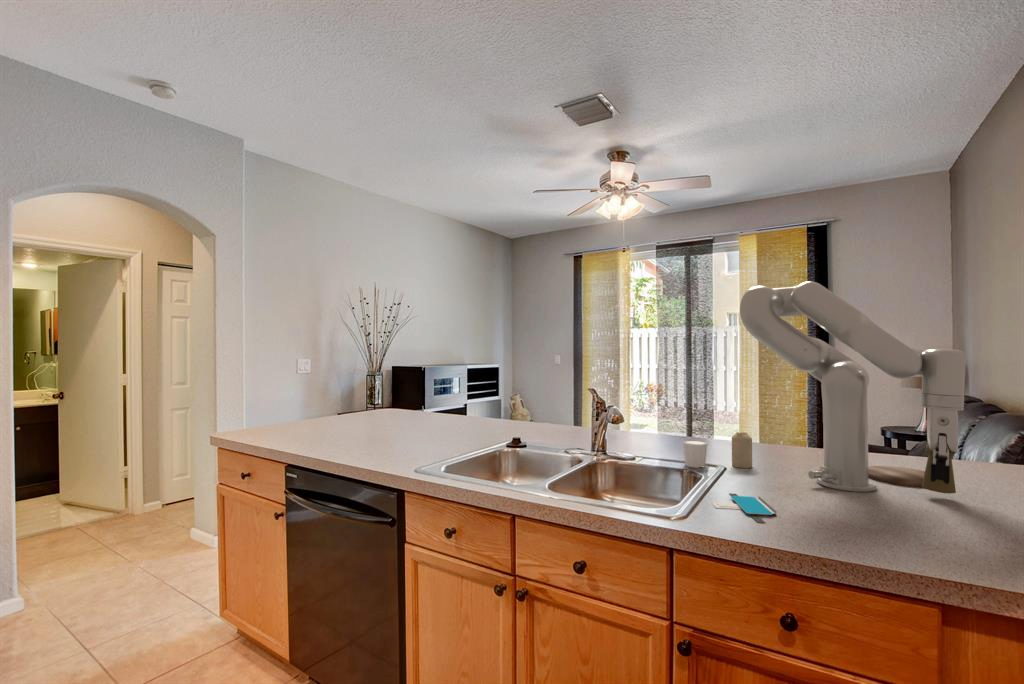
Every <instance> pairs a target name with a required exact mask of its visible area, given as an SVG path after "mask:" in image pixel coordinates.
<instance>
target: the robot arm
mask: <svg viewBox="0 0 1024 684" xmlns="http://www.w3.org/2000/svg"><path fill="white" fill-rule="evenodd" d="M739 315H740V319H741V322H742V324H743V326H744V328H745V329H746V331H747V332H748V333H749V334H750V335H751V336H752V337H753V338H754V339H756V340H757V341H758V342H759V343H761V344H762V345H764V346H765V347H766V348H768V349H769V350H770V351H771V352H773V353H774V354H776V355H777V356H779V357H780V358H781V359H783V360H784V361H785V362H787V363H788V364H789V365H790V366H792V367H793V368H794V369H796V370H798V371H800V372H805V373H808V374H809V375H811V376H812V377H813V378H815V379H816V380H818V381H819V382H820V383H821V384H820V388H821V400H822V401H821V402H822V423H823V425H822V427H823V430H822V431H823V432H822V433H823V437H822V439H823V442H822V443H823V465H820V469H818V470H809V471H808V474H807V475H808V477H809V479H811V480H813V479H816V482H817V483H818V484H819V485H822V486H824V487H827V488H830V489H834V490H835V489H836V490H841V491H845V492H847V491H848V492H863V493H865V492H866V493H867V492H873V491H876V489H877V484H876V483H875V482H874V481H871V480H869V478H868V467H869V429H868V428H869V426H868V419H869V417H868V386H869V383H870V377H869V374H868V371H867V370H866V368H864V366H863V365H861V364H860V363H858V362H857V361H855V360H854V359H852V358H850V356H847V355H846V354H844V353H843V352H841V351H839V350H838V349H837V348H835V347H834V346H832V345H830V344H829V343H827V342H826V341H824V340H822V339H820V338H817V337H814V336H813V337H812V336H809V335H807V334H806V333H804V332H802V331H801V330H800V329H798V328H797V327H795V326H793V325H792V324H790V322H788V321H786V320H785V319H783V318H784V317H798V316H799V317H800V316H805V317H806V318H808V319H810V320H811V321H812V322H813V323H815V324H816V325H818V326H819V327H820V328H822V329H823V330H824V331H825V332H827V333H829V334H830V335H831V336H832V337H834V338H835V339H837V340H838V341H839V342H841V343H843V344H844V345H845V346H847V347H849V348H850V349H852V350H853V351H854V352H856V353H857V354H859V355H860V356H861V357H863V358H864V359H866V361H868V362H870V363H871V364H873V365H874V366H876V368H878V369H880V370H881V371H883V372H884V373H885V374H886V375H888V376H889V377H892V378H894V379H898V380H899V379H900V380H905V379H906V380H907V379H910V378H913V377H915V378H916V377H917V378H918V377H920V378H921V395H920V397H921V399H920V407H922V408H925V409H926V411H927V413H926V435H927V436H926V437H927V444H929V449H930V450H932V451H933V464H931V481H932V482H935V481H936V480H937V479H938V480H943V481H944V483H945V484H948V483H949V473H950V466H949V448H950V450H951V452H953V453H954V455H957V454H958V453H959V414H958V412H959V411H964V409H965V408H964V407H965V386H966V385H965V384H966V362H967V361H966V358H967V357H966V354H965V352H964V351H962V350H960V349H953V348H952V349H951V348H930V349H929V348H928V349H921V348H920V349H919V348H913V347H909V346H908V345H907V344H905V343H904V342H902V341H900V340H899V339H898V338H896V337H895V336H893V335H892V334H890V333H888V332H887V331H886V330H885V329H884V328H882V327H881V326H879V325H877V324H876V323H875V322H874V321H873V320H871V318H870V317H868V316H867V315H866V313H864V312H862V311H861V310H860V309H857V308H856V307H855V306H853V305H852V304H851V303H849V302H847V301H846V300H844V299H843V298H841V297H839V296H838V295H837V294H836V293H834V292H833V291H831V290H829V289H828V288H827V287H825V286H824V285H822V284H821V283H819V282H816V281H804V282H801V283H799V284H798V285H796V286H791V287H790V286H789V287H779V288H778V287H777V288H776V287H775V288H772V287H769V286H765V285H756V286H752V287H750V288H749V289H748V290H746V291H745V292H744V293H743V296H742V298H741V300H740V305H739ZM935 448H938V449H939V451H935ZM946 450H947V452H946ZM936 454H937V455H936Z"/></svg>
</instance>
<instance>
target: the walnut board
mask: <svg viewBox="0 0 1024 684" xmlns="http://www.w3.org/2000/svg"><path fill="white" fill-rule="evenodd" d="M924 474H925V470H920V469H914V468H909V467H902V466H900V467H899V466H893V465H892V466H889V465H870V466H868V479H871V480H874V481H878V482H881V483H886V484H892V485H898V486H903V487H904V486H905V487H915V488H923V487H922V483H923V478H924Z"/></svg>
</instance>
